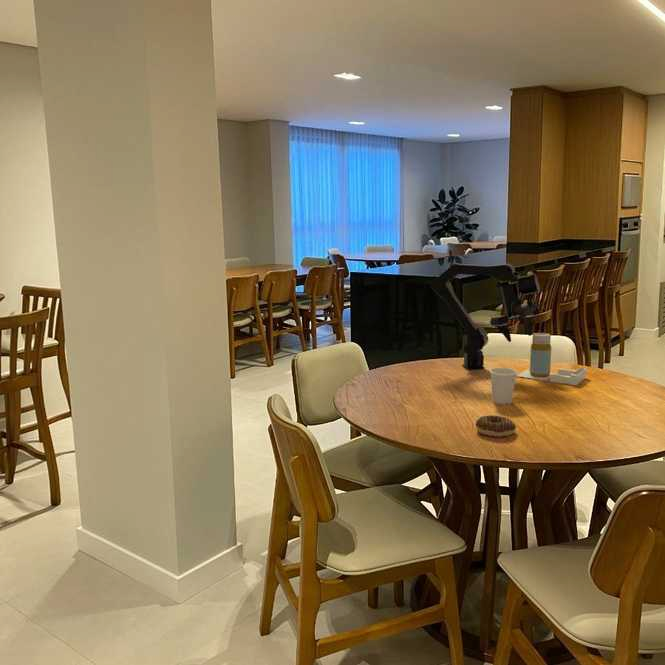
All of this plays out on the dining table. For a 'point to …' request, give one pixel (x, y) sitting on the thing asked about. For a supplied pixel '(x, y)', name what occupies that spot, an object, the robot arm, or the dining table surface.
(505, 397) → the dixie cup
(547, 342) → the bottle
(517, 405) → the dining table surface
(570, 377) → the dock
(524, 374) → the mat
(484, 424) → the donut
